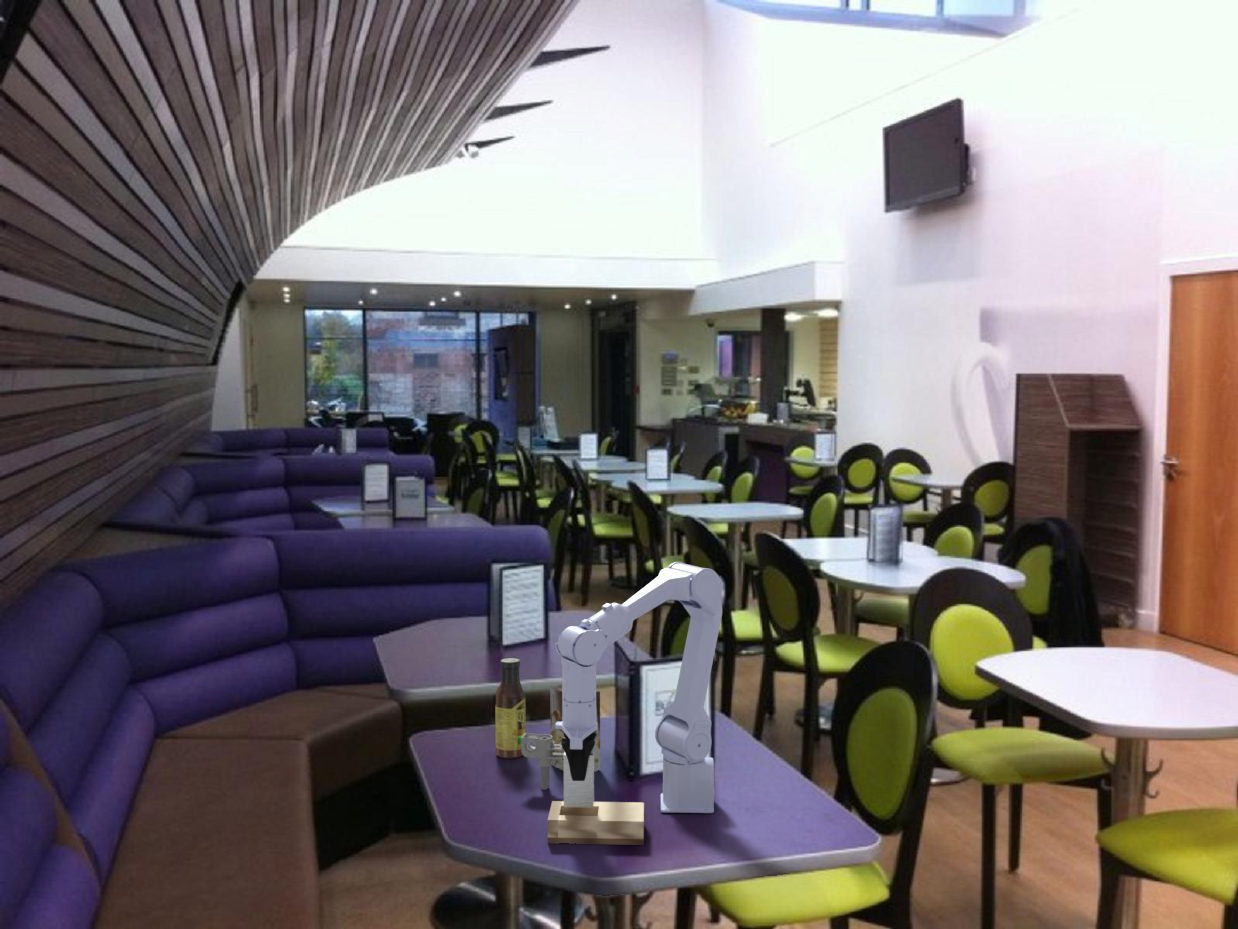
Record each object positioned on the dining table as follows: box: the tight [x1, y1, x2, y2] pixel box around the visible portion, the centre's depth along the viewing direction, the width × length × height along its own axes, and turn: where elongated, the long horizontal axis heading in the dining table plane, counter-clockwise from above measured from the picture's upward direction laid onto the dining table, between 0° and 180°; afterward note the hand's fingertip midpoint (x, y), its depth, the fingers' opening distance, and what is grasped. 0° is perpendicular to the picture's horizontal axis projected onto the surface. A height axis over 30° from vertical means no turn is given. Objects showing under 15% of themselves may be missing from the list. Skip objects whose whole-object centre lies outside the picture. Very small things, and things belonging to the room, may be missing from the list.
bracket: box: [563, 750, 595, 808], centre depth 175 cm, size 5×2×9 cm, turn 88°
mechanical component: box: [518, 732, 564, 791], centre depth 196 cm, size 3×10×10 cm, turn 78°
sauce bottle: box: [494, 657, 527, 759], centre depth 214 cm, size 6×6×20 cm
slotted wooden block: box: [547, 800, 645, 846], centre depth 176 cm, size 16×8×4 cm, turn 88°
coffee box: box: [549, 684, 601, 773], centre depth 206 cm, size 9×6×16 cm
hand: (579, 776), depth 175 cm, fingers closed on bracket, 2 cm apart
